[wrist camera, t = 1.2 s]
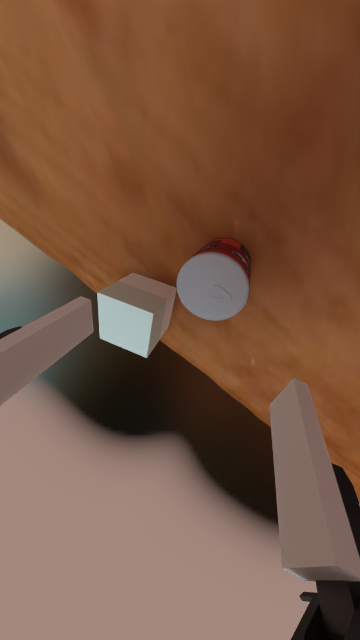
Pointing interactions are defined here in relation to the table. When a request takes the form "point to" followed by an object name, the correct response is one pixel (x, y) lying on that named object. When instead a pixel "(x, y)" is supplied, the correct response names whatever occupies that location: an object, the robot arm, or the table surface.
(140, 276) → the tower base
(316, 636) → the robot arm
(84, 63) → the table surface
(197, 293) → the canned food
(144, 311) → the tower top
